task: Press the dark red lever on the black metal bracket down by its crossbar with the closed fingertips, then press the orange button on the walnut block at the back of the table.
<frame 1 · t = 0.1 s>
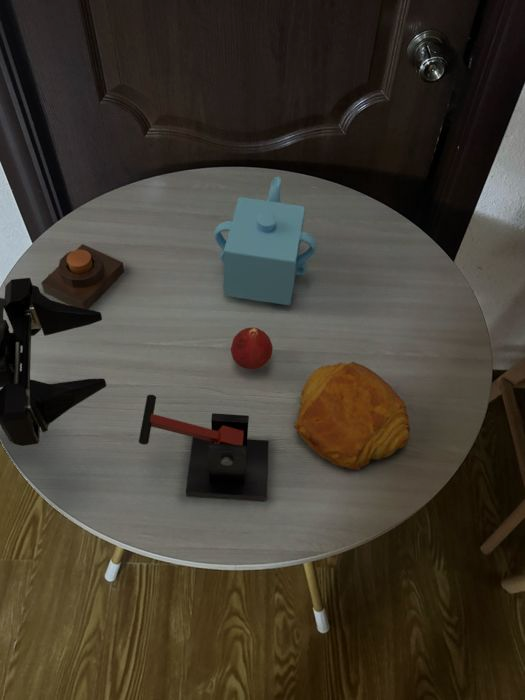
hand: (103, 347, 68), 18 cm above the table, tool horizontal, fingers open, 9 cm apart
bracket: (228, 469, 80), on the table
button: (79, 261, 94), point 4 cm above the table, slide at 0.1 cm
onion: (250, 364, 90), on the table
button block: (85, 281, 98), on the table
lever: (192, 430, 72), point 10 cm above the table, hinge at 22.0°
teapot: (265, 267, 102), on the table
croissant: (345, 424, 85), on the table
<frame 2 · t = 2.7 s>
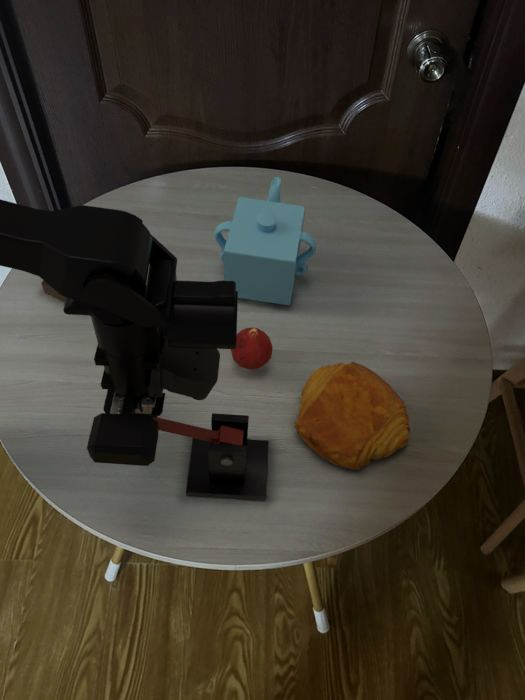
hand: (144, 418, 70), 12 cm above the table, tool pointing down, fingers closed, pressing on lever
lever: (191, 431, 72), point 9 cm above the table, hinge at 19.0°, touching gripper
everything else where it was.
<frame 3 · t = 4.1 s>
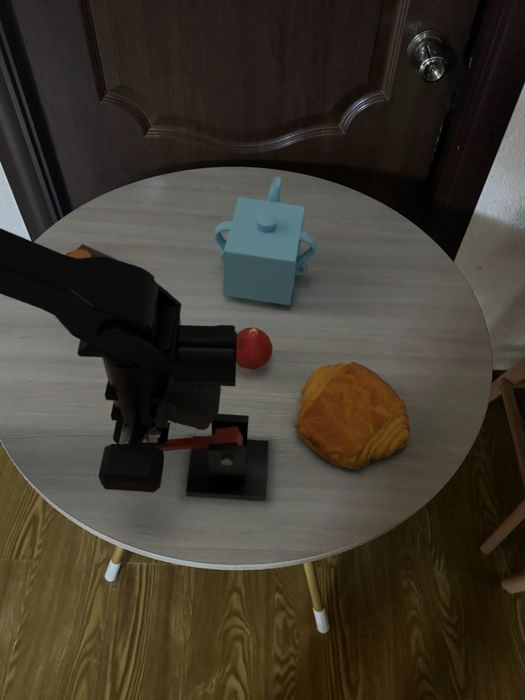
hand: (150, 444, 75), 6 cm above the table, tool pointing down, fingers closed, pressing on lever
lever: (192, 443, 74), point 7 cm above the table, hinge at -17.2°, touching gripper
everything else where it was.
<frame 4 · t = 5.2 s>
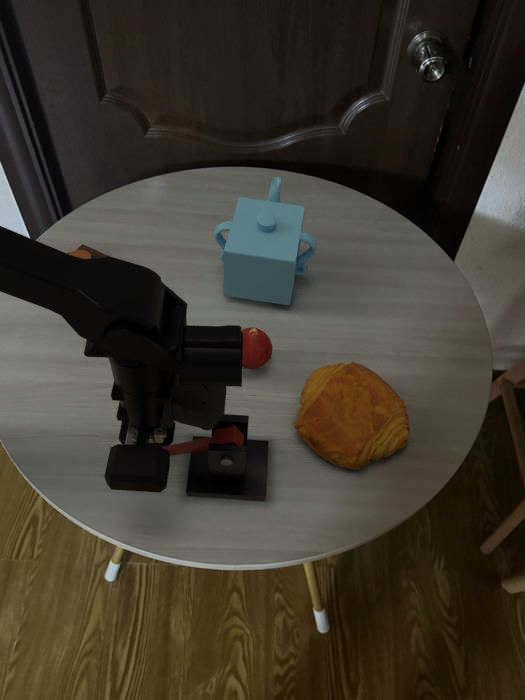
hand: (155, 444, 75), 6 cm above the table, tool pointing down, fingers closed
lever: (195, 446, 75), point 6 cm above the table, hinge at -26.9°
everything else where it was.
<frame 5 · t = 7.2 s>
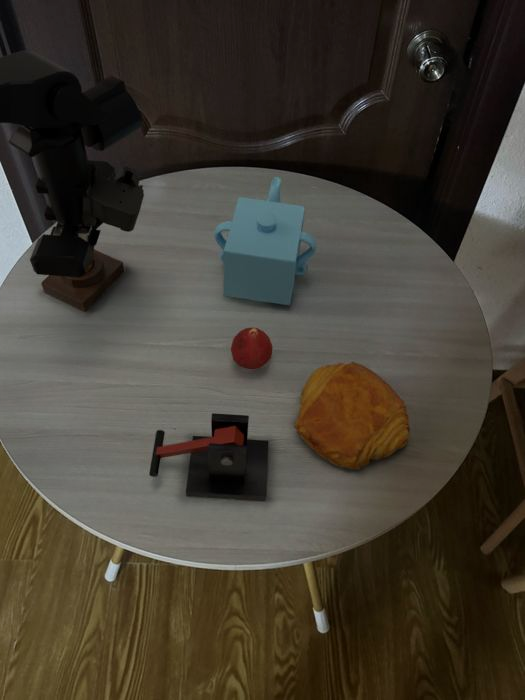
hand: (88, 262, 84), 12 cm above the table, tool pointing down, fingers closed
nothing on the table moved.
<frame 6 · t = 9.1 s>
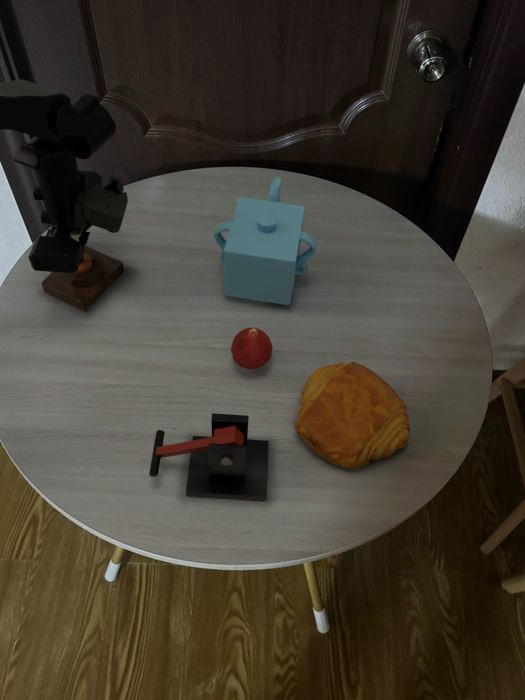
hand: (79, 261, 94), 5 cm above the table, tool pointing down, fingers closed, pressing on button
button: (80, 265, 95), point 4 cm above the table, slide at -0.6 cm, touching gripper
everything else where it was.
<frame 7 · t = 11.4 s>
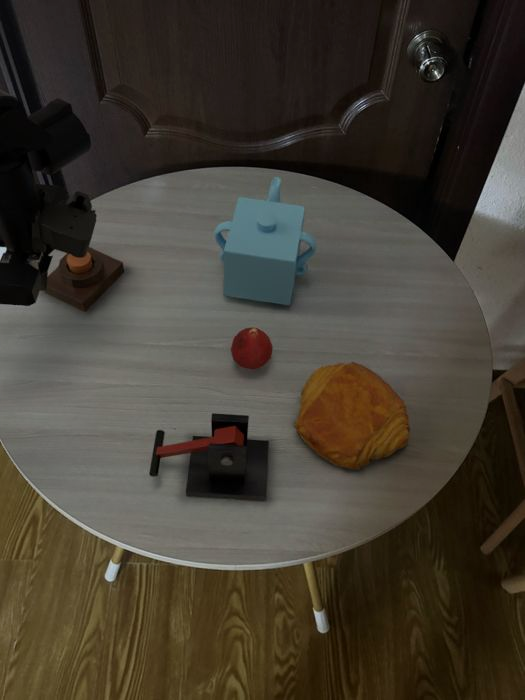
hand: (42, 288, 81), 12 cm above the table, tool pointing down, fingers closed
button: (79, 261, 94), point 4 cm above the table, slide at 0.1 cm
everything else where it was.
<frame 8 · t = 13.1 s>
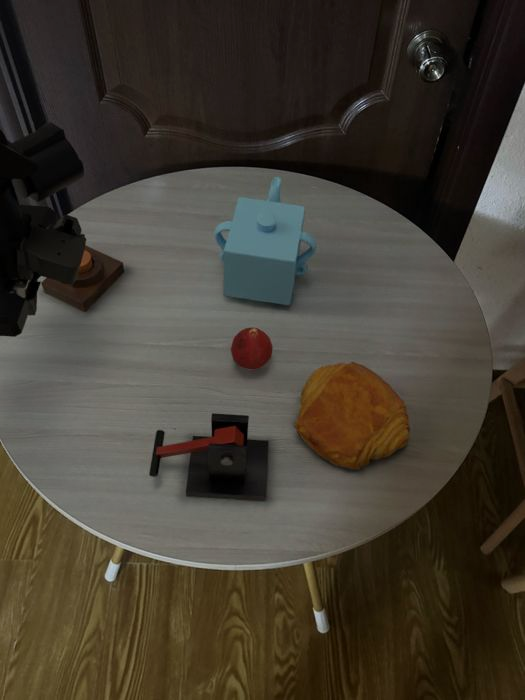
hand: (31, 313, 78), 12 cm above the table, tool pointing down, fingers closed
nothing on the table moved.
at the end: lever at -27° (first picture: +22°); button pushed in 1.1 cm at the most during the clip, back to where it started at the end; button slide at 0.1 cm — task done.
